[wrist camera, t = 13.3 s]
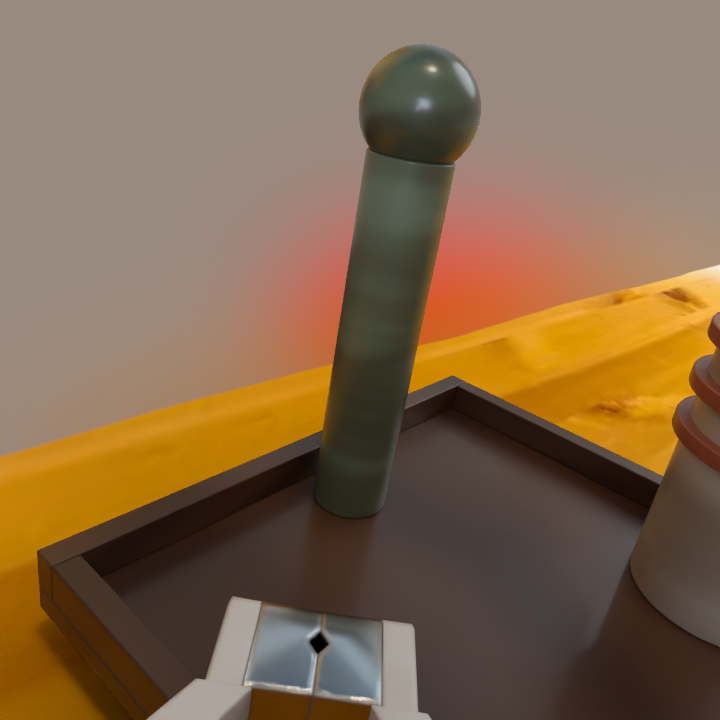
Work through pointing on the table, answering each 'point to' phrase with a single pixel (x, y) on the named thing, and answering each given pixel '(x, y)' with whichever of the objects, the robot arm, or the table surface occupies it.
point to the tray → (426, 501)
